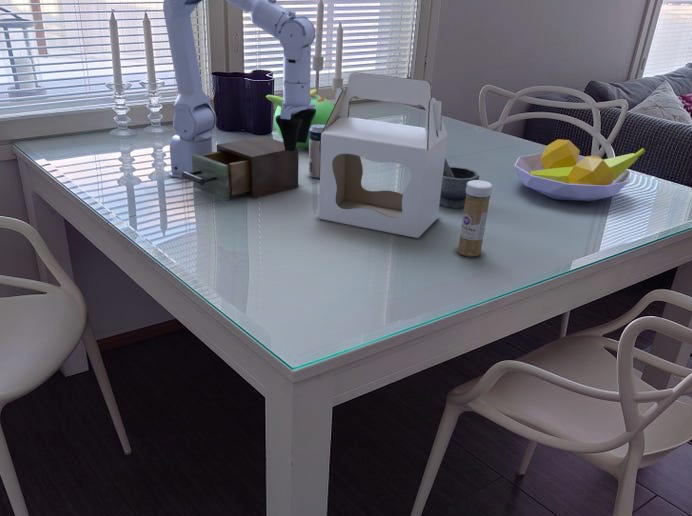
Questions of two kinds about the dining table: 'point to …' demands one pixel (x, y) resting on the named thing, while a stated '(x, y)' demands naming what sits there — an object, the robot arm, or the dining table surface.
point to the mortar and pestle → (455, 185)
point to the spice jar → (315, 149)
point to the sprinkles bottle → (474, 217)
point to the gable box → (382, 158)
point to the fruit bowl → (574, 172)
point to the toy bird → (321, 107)
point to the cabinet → (266, 164)
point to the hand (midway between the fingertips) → (295, 146)
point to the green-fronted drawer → (220, 174)
